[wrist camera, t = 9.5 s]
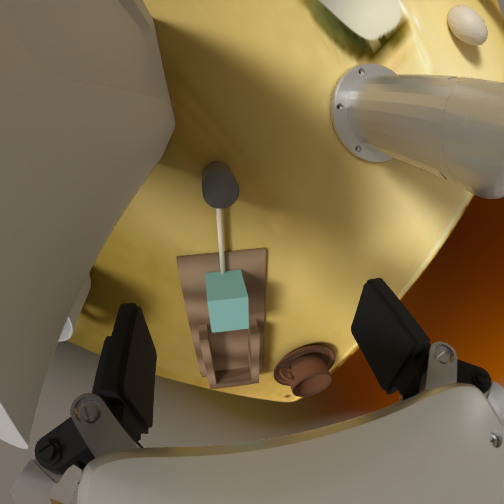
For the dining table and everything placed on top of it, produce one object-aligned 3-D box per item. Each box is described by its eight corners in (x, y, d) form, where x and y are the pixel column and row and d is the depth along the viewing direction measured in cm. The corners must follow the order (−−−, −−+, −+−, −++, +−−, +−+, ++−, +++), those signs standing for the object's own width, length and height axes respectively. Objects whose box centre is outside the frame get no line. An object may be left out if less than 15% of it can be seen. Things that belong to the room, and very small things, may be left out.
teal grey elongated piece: (194, 163, 27) (193, 176, 22) (237, 160, 28) (246, 172, 23) (208, 303, 36) (211, 332, 32) (241, 299, 37) (248, 328, 32)
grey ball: (466, 52, 23) (497, 55, 17) (439, 32, 22) (472, 31, 16) (465, 22, 20) (494, 21, 14) (438, 1, 18) (468, -4, 13)
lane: (176, 256, 33) (175, 271, 30) (265, 247, 34) (271, 262, 31) (201, 375, 45) (203, 390, 42) (262, 367, 47) (266, 382, 44)
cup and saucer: (266, 381, 50) (273, 406, 45) (278, 342, 44) (288, 370, 39) (321, 374, 53) (330, 397, 47) (340, 336, 47) (353, 360, 42)
